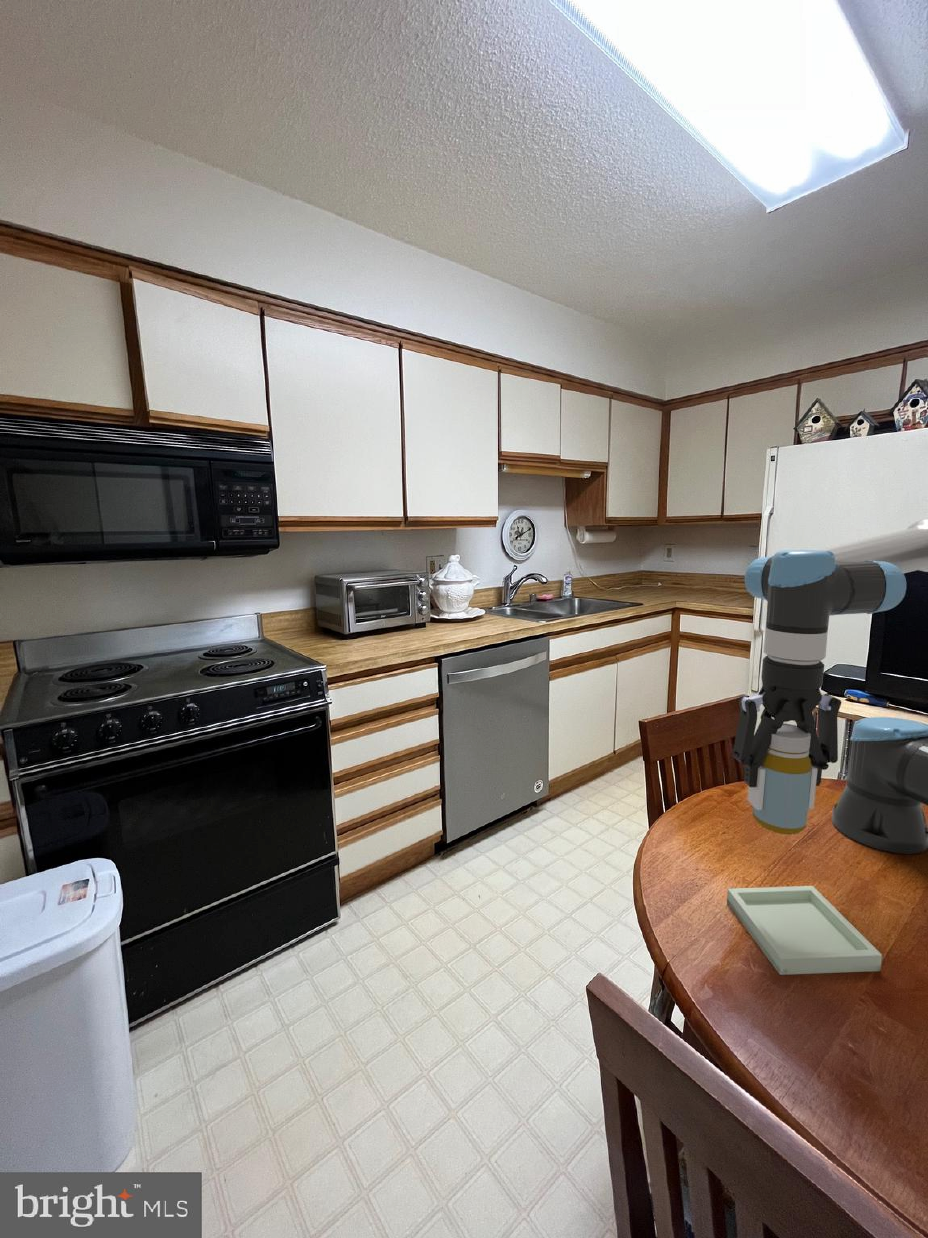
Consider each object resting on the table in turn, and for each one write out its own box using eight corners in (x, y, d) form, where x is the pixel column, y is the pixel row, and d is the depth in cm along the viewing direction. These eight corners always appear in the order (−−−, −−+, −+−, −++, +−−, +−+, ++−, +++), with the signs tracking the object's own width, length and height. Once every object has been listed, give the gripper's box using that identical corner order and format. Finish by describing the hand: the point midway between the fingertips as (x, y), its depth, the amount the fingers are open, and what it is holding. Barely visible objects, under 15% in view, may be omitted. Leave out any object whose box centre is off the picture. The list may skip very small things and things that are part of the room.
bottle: (813, 838, 75) (822, 741, 72) (760, 833, 76) (767, 738, 74) (795, 813, 82) (802, 723, 79) (746, 809, 83) (752, 720, 81)
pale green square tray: (810, 899, 85) (812, 885, 85) (880, 971, 71) (882, 955, 71) (726, 902, 85) (727, 888, 84) (779, 975, 71) (781, 959, 71)
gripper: (843, 650, 78) (828, 791, 82) (712, 653, 78) (703, 793, 82) (883, 663, 71) (864, 817, 75) (737, 666, 71) (726, 819, 75)
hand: (779, 804), depth 78 cm, fingers closed on bottle, 7 cm apart
